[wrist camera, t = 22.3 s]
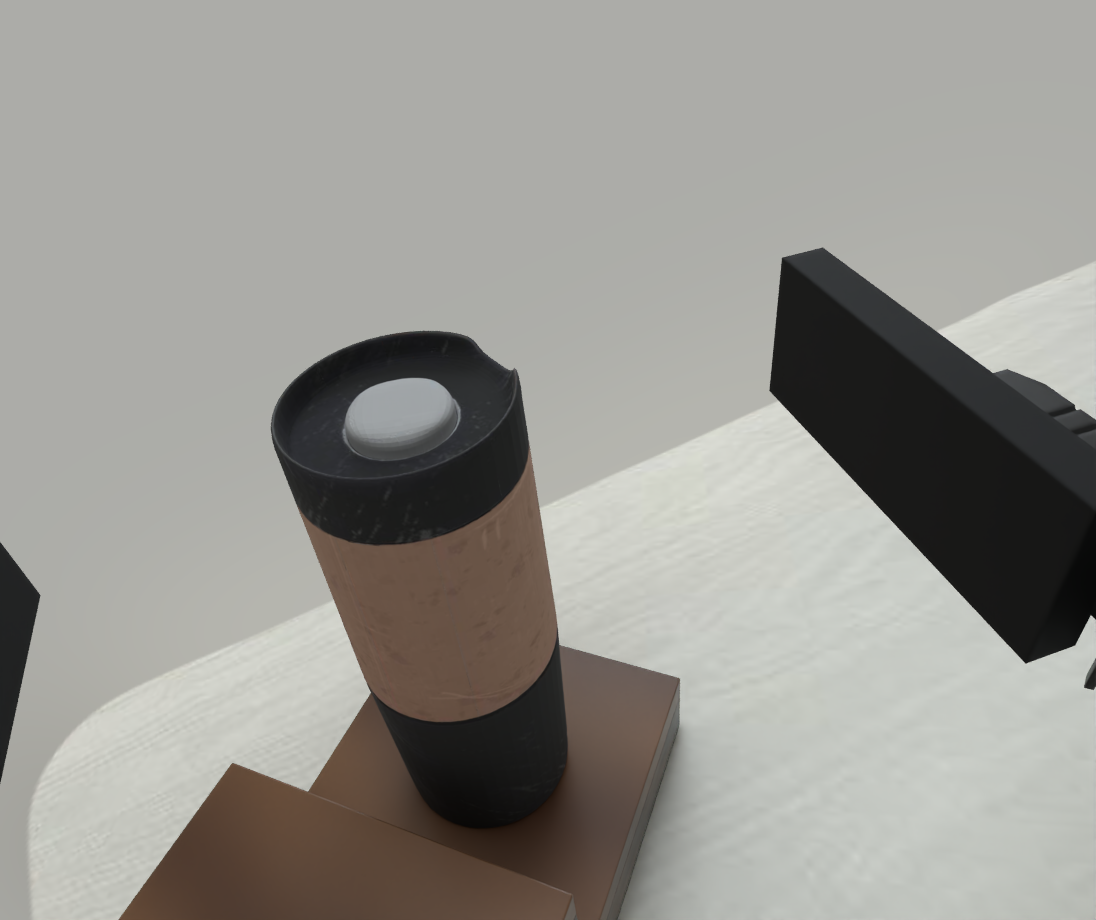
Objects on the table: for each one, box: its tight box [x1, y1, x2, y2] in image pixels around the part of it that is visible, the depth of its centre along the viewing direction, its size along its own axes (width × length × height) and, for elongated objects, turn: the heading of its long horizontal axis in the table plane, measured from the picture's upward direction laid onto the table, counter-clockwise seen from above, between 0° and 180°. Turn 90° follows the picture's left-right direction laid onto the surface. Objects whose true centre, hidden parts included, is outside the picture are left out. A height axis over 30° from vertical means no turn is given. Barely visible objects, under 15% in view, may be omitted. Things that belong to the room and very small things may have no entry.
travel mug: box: [271, 331, 568, 828], centre depth 31 cm, size 8×8×20 cm
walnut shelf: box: [119, 645, 680, 920], centre depth 34 cm, size 22×14×10 cm, turn 158°
